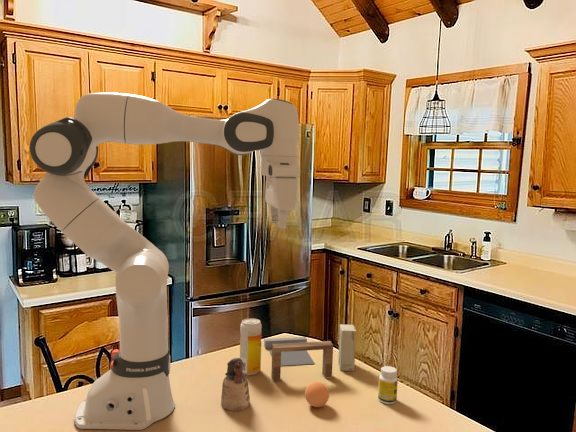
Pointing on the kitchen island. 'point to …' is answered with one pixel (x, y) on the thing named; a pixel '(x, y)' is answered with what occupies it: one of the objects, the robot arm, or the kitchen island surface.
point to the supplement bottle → (388, 385)
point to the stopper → (283, 341)
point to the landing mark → (295, 358)
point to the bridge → (302, 346)
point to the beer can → (250, 346)
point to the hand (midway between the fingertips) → (278, 225)
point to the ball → (317, 394)
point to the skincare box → (347, 347)
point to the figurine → (235, 387)
